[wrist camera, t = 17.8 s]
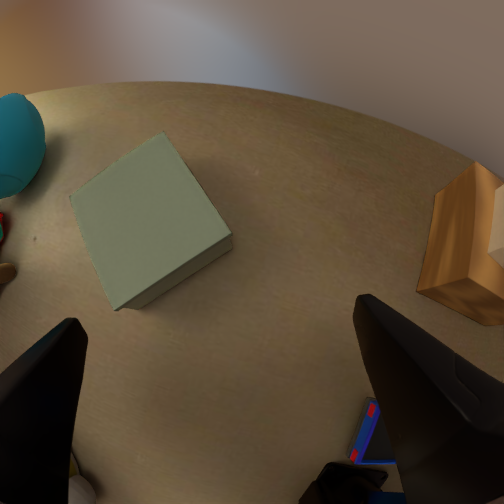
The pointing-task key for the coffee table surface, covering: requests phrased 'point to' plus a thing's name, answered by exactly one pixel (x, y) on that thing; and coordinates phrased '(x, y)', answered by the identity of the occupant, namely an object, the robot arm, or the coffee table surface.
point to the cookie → (7, 272)
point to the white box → (497, 228)
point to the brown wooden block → (465, 249)
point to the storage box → (147, 224)
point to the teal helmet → (19, 143)
